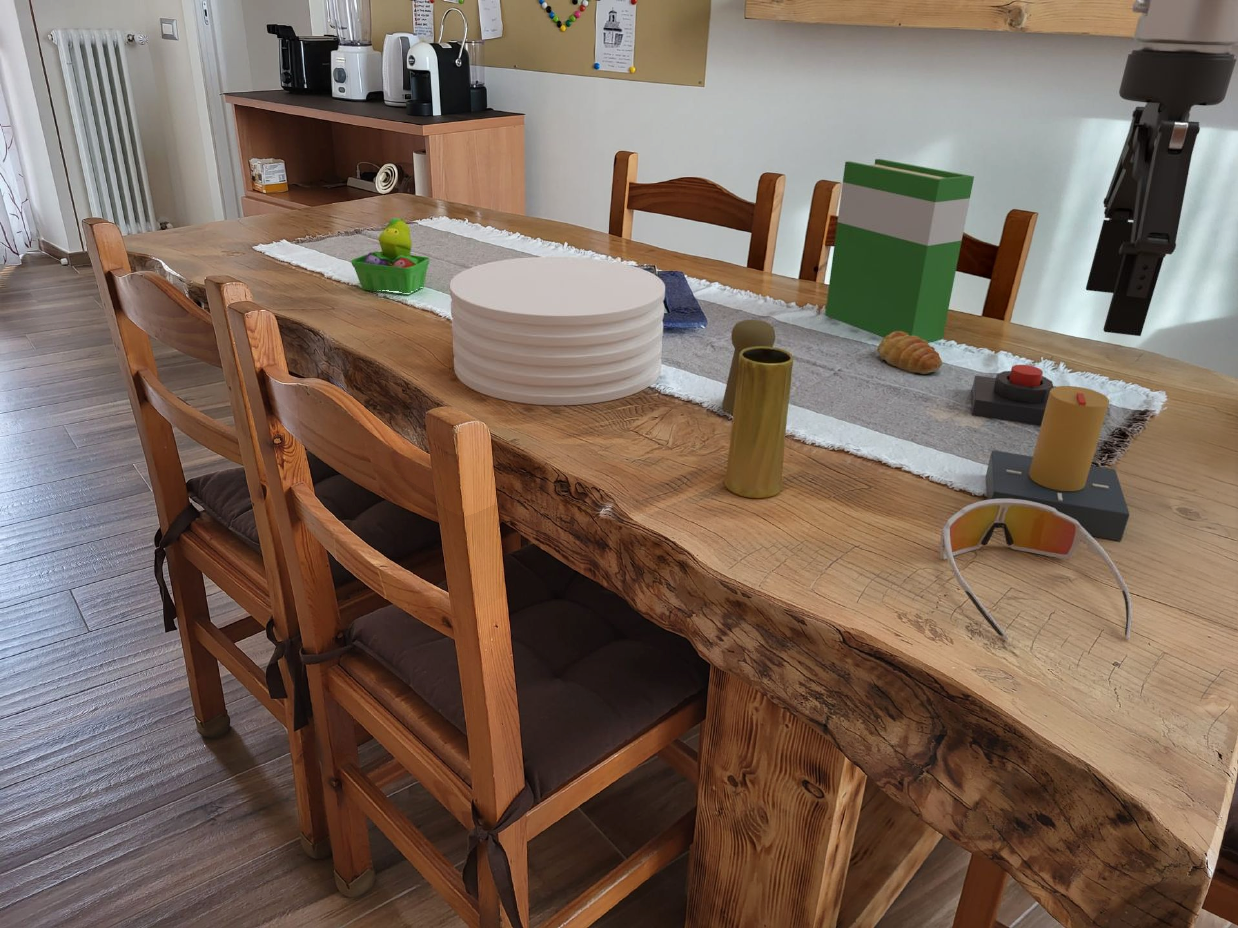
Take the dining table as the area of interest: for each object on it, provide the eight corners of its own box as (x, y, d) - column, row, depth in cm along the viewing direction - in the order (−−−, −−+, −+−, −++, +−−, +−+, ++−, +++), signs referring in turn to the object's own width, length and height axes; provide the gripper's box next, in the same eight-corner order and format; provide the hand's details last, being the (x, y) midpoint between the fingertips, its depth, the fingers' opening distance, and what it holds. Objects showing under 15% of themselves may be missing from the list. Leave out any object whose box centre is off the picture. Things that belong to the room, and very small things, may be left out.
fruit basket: (351, 291, 154) (344, 223, 149) (379, 278, 161) (373, 213, 156) (411, 299, 150) (406, 229, 145) (437, 285, 158) (433, 219, 153)
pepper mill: (713, 409, 112) (719, 323, 107) (735, 394, 117) (743, 311, 112) (757, 421, 109) (766, 334, 104) (778, 406, 114) (788, 321, 109)
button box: (1061, 403, 117) (1069, 374, 116) (1067, 430, 110) (1076, 399, 108) (971, 390, 120) (977, 362, 119) (971, 416, 113) (978, 385, 111)
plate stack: (414, 358, 125) (408, 276, 120) (573, 321, 142) (574, 247, 137) (538, 424, 107) (536, 330, 102) (703, 372, 124) (709, 289, 119)
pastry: (953, 373, 126) (958, 347, 124) (915, 380, 123) (919, 353, 122) (906, 351, 134) (910, 326, 132) (869, 358, 131) (873, 332, 129)
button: (1038, 380, 114) (1042, 366, 114) (1040, 390, 111) (1043, 376, 111) (1008, 375, 115) (1011, 362, 115) (1009, 385, 112) (1012, 372, 112)
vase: (711, 482, 95) (721, 352, 89) (751, 466, 99) (764, 340, 92) (754, 505, 91) (769, 370, 84) (794, 487, 94) (811, 357, 88)
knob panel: (1107, 494, 95) (1116, 467, 94) (1121, 541, 86) (1130, 512, 85) (985, 474, 98) (992, 448, 97) (987, 517, 90) (994, 489, 88)
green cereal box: (825, 315, 149) (845, 161, 138) (857, 308, 153) (879, 159, 142) (909, 346, 136) (939, 180, 125) (942, 339, 139) (974, 176, 129)
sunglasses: (1063, 540, 86) (1080, 497, 83) (1144, 659, 74) (1167, 614, 71) (915, 540, 85) (927, 497, 82) (972, 660, 73) (989, 615, 70)
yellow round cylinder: (1027, 464, 94) (1048, 379, 90) (1082, 472, 93) (1106, 387, 88) (1029, 486, 90) (1052, 398, 85) (1087, 495, 88) (1113, 406, 84)
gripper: (1110, 43, 83) (1054, 272, 93) (1158, 51, 62) (1079, 347, 72) (1202, 46, 81) (1135, 281, 91) (1285, 56, 60) (1186, 361, 70)
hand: (1110, 311), depth 81 cm, fingers open, 13 cm apart
